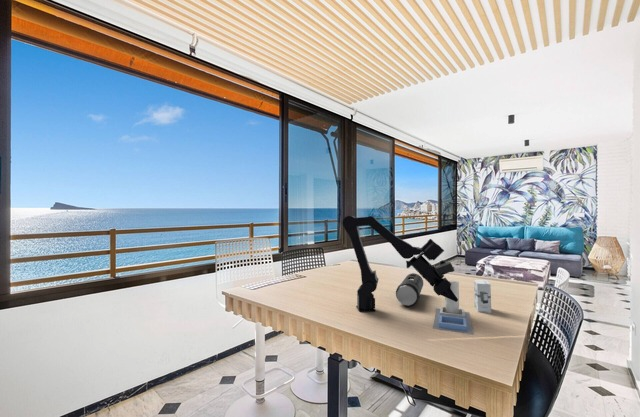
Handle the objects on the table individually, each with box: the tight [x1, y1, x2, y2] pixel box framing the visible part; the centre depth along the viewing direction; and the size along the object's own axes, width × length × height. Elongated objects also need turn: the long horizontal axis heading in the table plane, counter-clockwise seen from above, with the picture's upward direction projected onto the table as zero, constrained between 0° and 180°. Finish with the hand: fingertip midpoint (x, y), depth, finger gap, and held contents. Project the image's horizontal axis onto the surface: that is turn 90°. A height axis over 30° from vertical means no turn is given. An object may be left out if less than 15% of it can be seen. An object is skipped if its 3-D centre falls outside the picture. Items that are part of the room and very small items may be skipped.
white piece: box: [444, 280, 460, 314], centre depth 109 cm, size 5×5×12 cm
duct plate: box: [432, 306, 474, 335], centre depth 104 cm, size 24×12×2 cm, turn 155°
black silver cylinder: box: [395, 272, 424, 307], centre depth 131 cm, size 10×28×10 cm, turn 156°
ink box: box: [473, 279, 492, 314], centre depth 116 cm, size 9×5×12 cm, turn 160°
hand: (456, 299), depth 109 cm, fingers closed on white piece, 5 cm apart
